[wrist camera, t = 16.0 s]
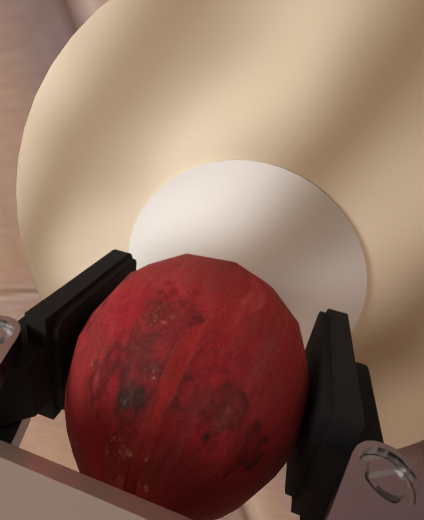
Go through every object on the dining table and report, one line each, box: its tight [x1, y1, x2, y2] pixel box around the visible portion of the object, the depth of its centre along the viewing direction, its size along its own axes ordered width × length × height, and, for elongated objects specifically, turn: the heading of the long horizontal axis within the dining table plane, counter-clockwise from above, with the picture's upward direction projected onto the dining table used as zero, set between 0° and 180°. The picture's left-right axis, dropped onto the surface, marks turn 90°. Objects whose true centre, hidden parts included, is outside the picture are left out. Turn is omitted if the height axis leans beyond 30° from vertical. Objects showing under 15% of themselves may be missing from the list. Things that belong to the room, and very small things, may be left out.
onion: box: [64, 253, 311, 520], centre depth 8 cm, size 6×6×8 cm
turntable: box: [16, 0, 424, 449], centre depth 12 cm, size 20×20×6 cm
